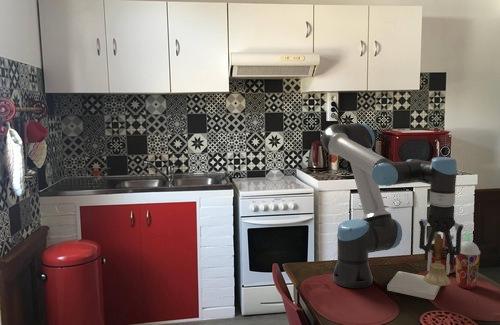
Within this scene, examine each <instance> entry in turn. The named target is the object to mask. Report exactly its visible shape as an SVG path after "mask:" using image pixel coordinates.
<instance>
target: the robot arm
mask: <svg viewBox="0 0 500 325" xmlns="http://www.w3.org/2000/svg"><path fill="white" fill-rule="evenodd" d="M320 140H321V145H322V147H323V148H324V149H325V151H326V152H328V153H329V154H330V155H332V156H337V157H338V156H339V157H340V158H342V159H344V160H346V161H347V162H349V164H350V167H351V170H352V171H351V172H352V175H353V178H354V181H355V185H356V188H357V193H358V197H359V200H360V204H361V208H362V210H363V217H362V218H361V219H360V218H359V219H358V218H356V219H354V218H353V219H348V220H344V221H342V222H340V223H339V225H338V227H337V234H336V238H337V261H336V264H335V267H334V269H333V272H332V273H333V274H332V281H333V282H334V283H335V285H338V286H340V287H344V288H348V289H363V288H367V287H370V286H371V285H372V284H373V278H374V277H373V274H372V270H371V268H370V264H369V254H370V253H376V252H380V251H388V250H391V249H395V248H396V247H398V246H400V244H401V241H402V240H403V239H402V238H403V229H402V225H401V224H400V222H399V221H398V220H397V219H394V218H393V217H392V213H391V212H389V211H388V210H386V206H385V203H384V199H383V196H382V193H381V189H380V187H379V186H381V187H382V186H386V187H390V186H396V185H402V184H404V185H405V184H413V183H423V184H428V185H430V188H429V190H430V191H429V192H430V193H429V202H430V204H429V207H428V208H429V209H428V210H429V211H428V217H427V218H426V219H423V218H421V219H420V220H419V222H418V223H419V228H420V231H419V245H418V247H419V249H420V250H423V251H424V261H427V266H426V268H427V269H426V270H427V272H429V270H430V265H431V264H432V253H433V251H432V250H431V249H430V247H431V244H433V241H434V240H435V237H436V233H439V232H440V233H442V234H443V233H444V235H445V237H446V242H447V246H448V250H449V253H448V255H447V264H446V275H447V276H448V275H449V274H451V273H450V265H453V263H454V256H455V257H456V255H459V254H460V252H461V242H462V232H463V229H464V224H459V223H457V222H456V220H455V206H454V205H455V203H456V184H457V183H456V182H457V173H458V169H457V160H456V159H455V158H453V157H448V156H447V157H446V156H436V157H432V159H431V161H426V160H421V159H417V158H415V159H413V158H411V159H410V158H409V159H406V161H405V160H404V161H392V160H390V159H389V158H386V157H384V156H383V155H380V154H378V153H376V152H375V151H374V150H373V147H374V145H375V141H376V138H375V133H374V131H373V129H372V127H370V126H369V125H368V124H365V123H359V122H358V123H357V122H355V123H337V124H336V123H335V124H331V125H329V126H328V127H326V128H325V130H324V131H323V133H322V134H321V138H320ZM428 224H429V226H430V228H431V231H430V234H429V236H428V238H427V239H428V240H427V242H425V240H426V230H427V229H426V226H427V225H428ZM453 227H454V230H455V231H456V234H455V247H456V250H454V248H453V246H454V244H453V239H451V235H452V234H451V231H450V230H451V229H452V228H453ZM425 244H426V245H425Z"/></svg>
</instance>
